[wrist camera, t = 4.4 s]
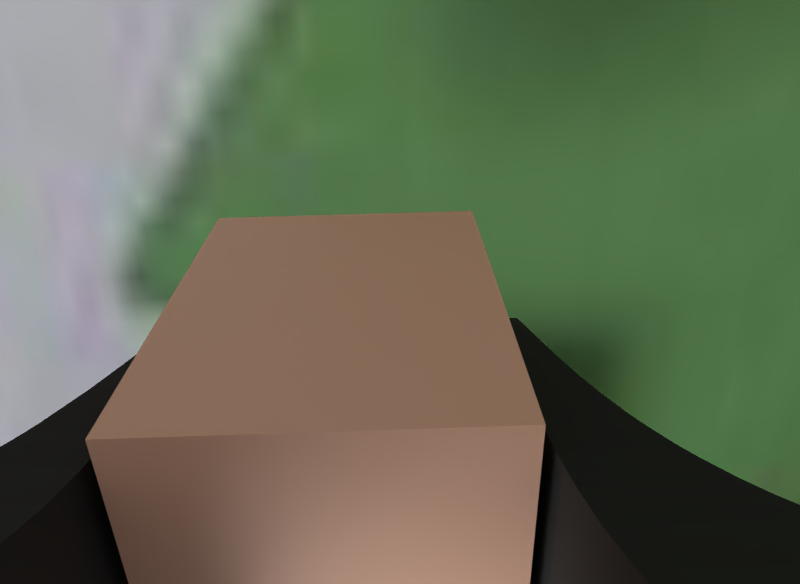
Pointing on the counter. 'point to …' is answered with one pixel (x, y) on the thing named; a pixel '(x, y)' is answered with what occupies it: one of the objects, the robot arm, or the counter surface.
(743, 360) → the counter surface
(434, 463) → the terracotta block
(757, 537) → the robot arm
